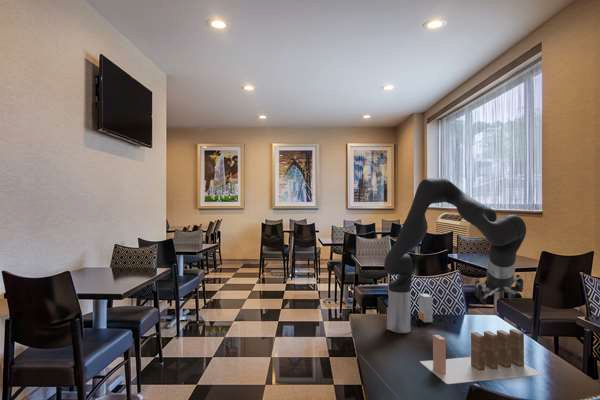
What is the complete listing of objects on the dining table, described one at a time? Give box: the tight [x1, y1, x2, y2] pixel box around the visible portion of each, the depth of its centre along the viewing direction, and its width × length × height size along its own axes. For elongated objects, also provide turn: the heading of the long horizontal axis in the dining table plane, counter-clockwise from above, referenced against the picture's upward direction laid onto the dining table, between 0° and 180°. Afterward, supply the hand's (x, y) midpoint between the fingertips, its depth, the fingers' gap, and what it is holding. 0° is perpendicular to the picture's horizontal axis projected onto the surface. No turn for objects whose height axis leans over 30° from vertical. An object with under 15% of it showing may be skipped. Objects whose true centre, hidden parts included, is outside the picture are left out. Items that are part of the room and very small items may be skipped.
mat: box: [419, 356, 543, 385], centre depth 119 cm, size 34×16×1 cm, turn 101°
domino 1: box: [470, 331, 485, 371], centre depth 119 cm, size 2×4×11 cm, turn 11°
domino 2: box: [483, 330, 498, 369], centre depth 120 cm, size 2×4×11 cm, turn 11°
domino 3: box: [496, 329, 511, 368], centre depth 121 cm, size 2×4×11 cm, turn 11°
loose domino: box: [432, 334, 447, 374], centre depth 116 cm, size 2×4×11 cm, turn 11°
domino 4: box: [509, 329, 525, 367], centre depth 122 cm, size 2×4×11 cm, turn 11°
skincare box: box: [418, 293, 434, 323], centre depth 170 cm, size 6×4×12 cm
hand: (496, 300), depth 121 cm, fingers open, 8 cm apart
